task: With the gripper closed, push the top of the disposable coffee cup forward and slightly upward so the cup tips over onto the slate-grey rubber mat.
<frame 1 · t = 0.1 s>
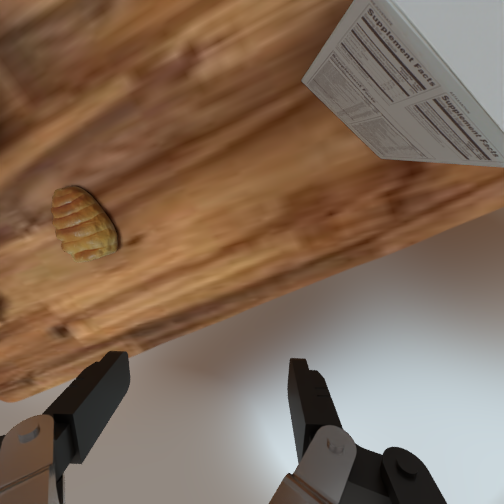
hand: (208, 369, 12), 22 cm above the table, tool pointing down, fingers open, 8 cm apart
supplement box: (387, 68, 26), on the table
pastry: (91, 226, 33), on the table
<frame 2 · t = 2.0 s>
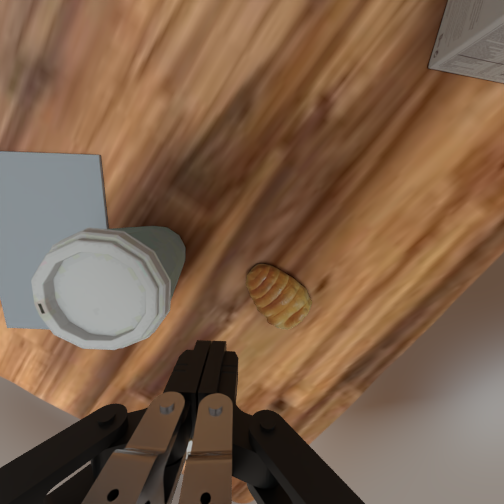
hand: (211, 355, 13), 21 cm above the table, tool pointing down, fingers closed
disposable coffee cup: (163, 252, 34), on the table
supplement box: (503, 13, 27), on the table
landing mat: (51, 248, 34), on the table
pastry: (276, 293, 35), on the table
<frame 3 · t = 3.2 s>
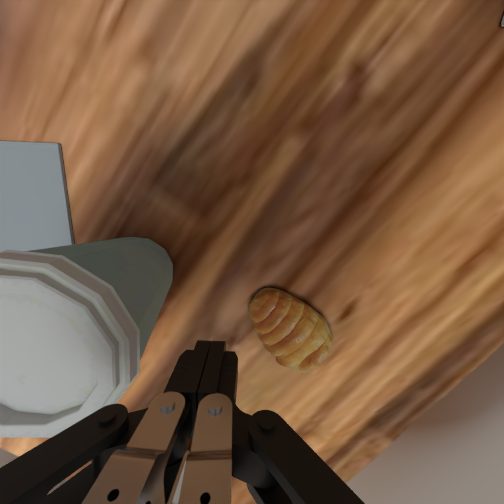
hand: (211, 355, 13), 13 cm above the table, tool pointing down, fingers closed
disposable coffee cup: (145, 269, 26), on the table
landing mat: (1, 264, 26), on the table
pastry: (287, 323, 28), on the table
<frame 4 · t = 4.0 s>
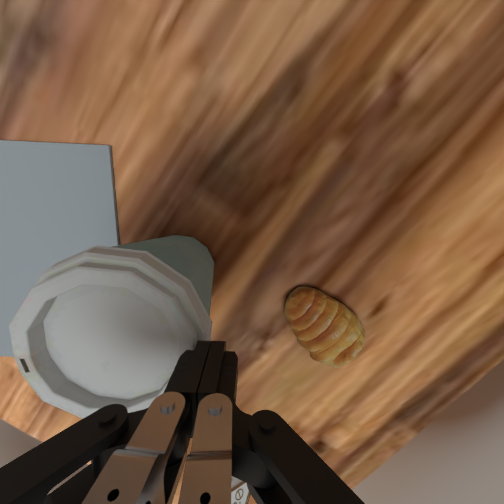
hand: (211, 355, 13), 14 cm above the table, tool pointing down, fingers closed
disposable coffee cup: (186, 266, 27), on the table, touching gripper
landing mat: (47, 260, 27), on the table
pastry: (319, 321, 29), on the table
game die: (227, 445, 34), on the table
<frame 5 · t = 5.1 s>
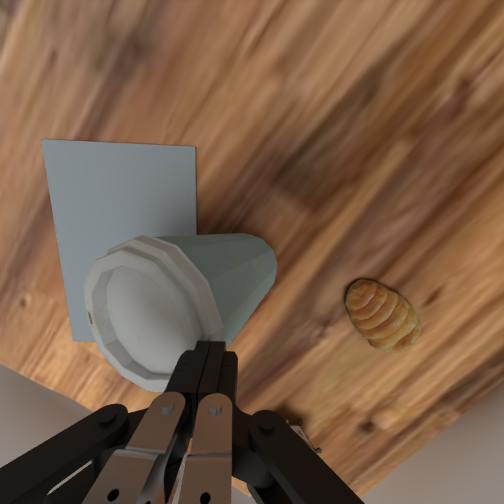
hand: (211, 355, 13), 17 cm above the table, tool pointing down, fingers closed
disposable coffee cup: (253, 265, 28), point 2 cm above the table, touching gripper
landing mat: (129, 253, 29), on the table
pastry: (374, 311, 32), on the table
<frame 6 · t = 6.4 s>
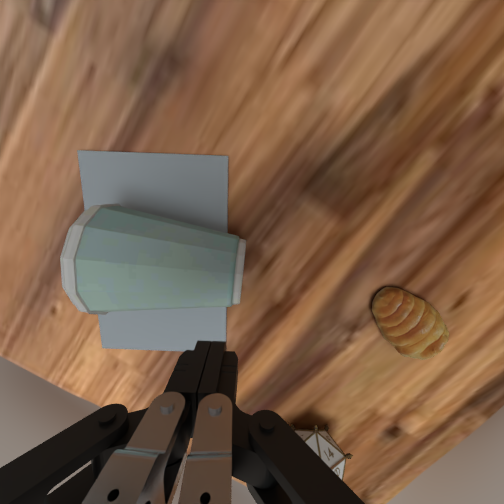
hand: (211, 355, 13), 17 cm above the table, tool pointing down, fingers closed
disposable coffee cup: (245, 276, 24), point 6 cm above the table, touching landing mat
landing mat: (160, 260, 30), on the table
pastry: (399, 318, 32), on the table
game die: (308, 431, 36), on the table
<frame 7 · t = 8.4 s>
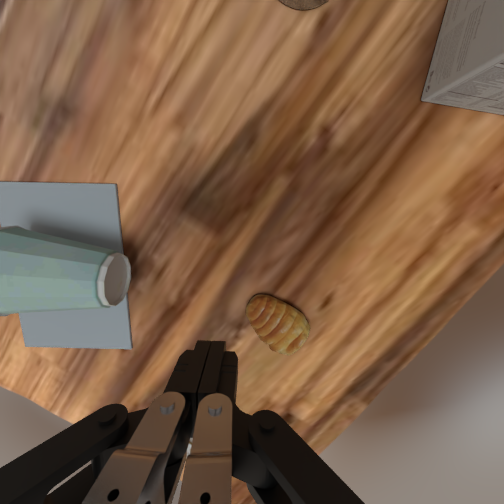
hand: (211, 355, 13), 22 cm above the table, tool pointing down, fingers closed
disposable coffee cup: (120, 283, 30), point 6 cm above the table, touching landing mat
supplement box: (488, 50, 29), on the table
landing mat: (68, 270, 35), on the table
pastry: (276, 320, 37), on the table
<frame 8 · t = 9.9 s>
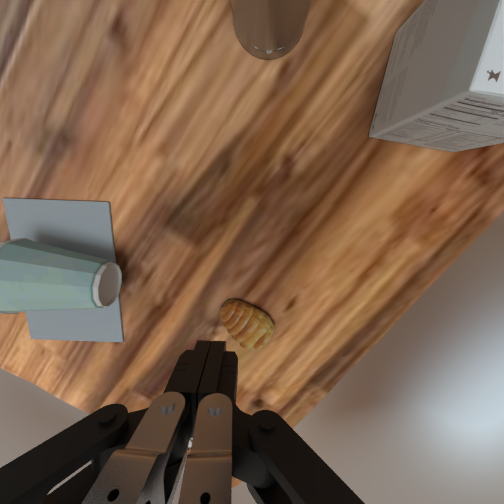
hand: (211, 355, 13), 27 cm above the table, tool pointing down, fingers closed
disposable coffee cup: (112, 287, 35), point 6 cm above the table, touching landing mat
supplement box: (425, 95, 34), on the table
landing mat: (68, 274, 41), on the table
pastry: (247, 321, 43), on the table
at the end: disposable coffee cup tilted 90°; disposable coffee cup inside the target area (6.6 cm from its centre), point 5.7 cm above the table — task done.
